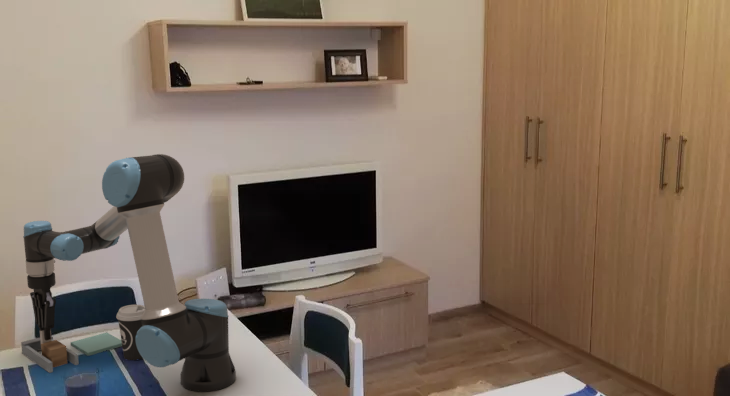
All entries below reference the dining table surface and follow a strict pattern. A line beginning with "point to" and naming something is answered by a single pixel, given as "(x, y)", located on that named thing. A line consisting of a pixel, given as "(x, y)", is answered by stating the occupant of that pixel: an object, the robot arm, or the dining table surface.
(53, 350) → the walnut block
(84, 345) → the teal coaster
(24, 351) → the grey channel
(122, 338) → the coffee cup
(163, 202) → the robot arm
